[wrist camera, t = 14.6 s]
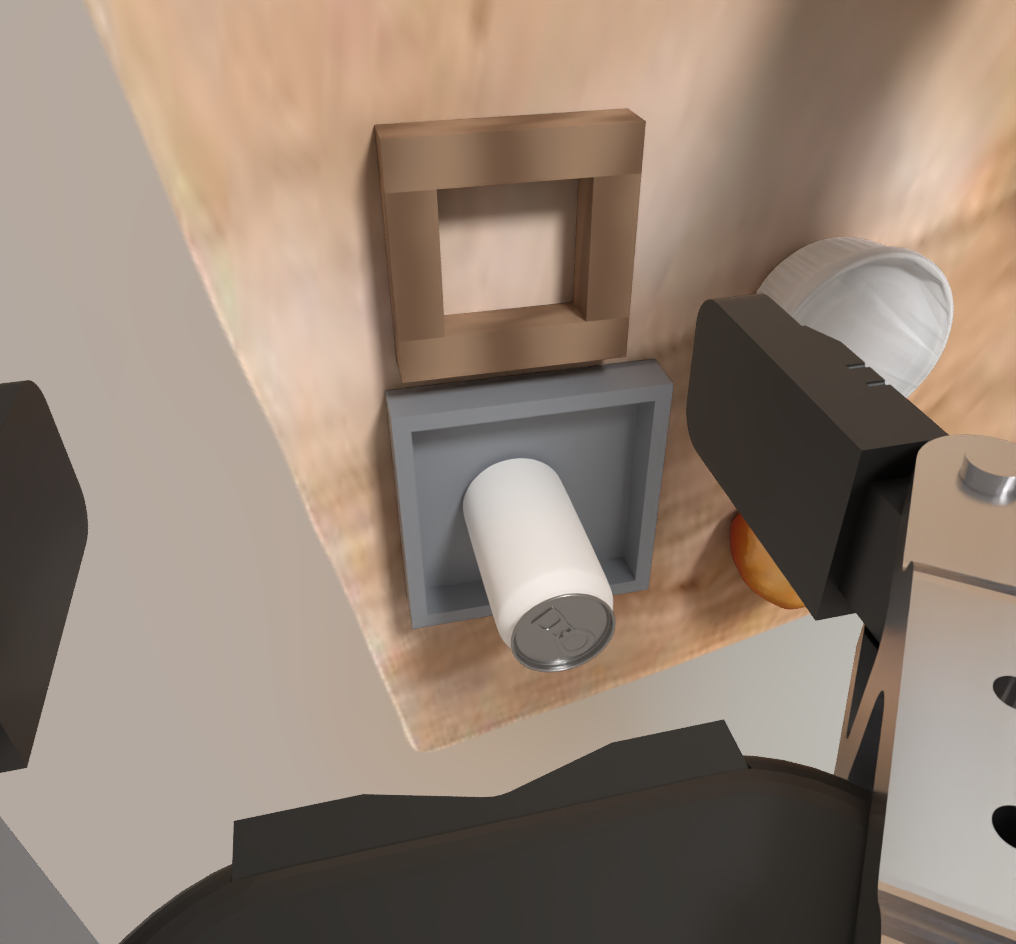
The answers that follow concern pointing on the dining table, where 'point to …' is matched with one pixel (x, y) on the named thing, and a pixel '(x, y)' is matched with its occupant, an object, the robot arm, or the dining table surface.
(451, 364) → the square wooden frame
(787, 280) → the ramekin
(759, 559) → the fruit
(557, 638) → the can
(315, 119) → the dining table surface
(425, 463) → the tray
